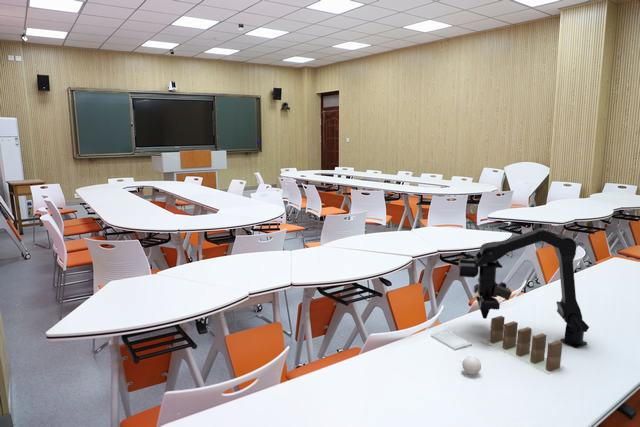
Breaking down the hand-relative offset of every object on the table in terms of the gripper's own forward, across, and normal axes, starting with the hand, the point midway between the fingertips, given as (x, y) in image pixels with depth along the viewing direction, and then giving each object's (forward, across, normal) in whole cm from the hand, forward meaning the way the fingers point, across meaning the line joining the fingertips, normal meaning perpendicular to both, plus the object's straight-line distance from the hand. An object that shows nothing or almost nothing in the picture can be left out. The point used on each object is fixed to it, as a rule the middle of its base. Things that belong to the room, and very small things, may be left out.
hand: (484, 318), depth 167 cm
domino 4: (+7, -17, -14) cm, 23 cm away
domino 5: (+7, -22, -18) cm, 29 cm away
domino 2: (+7, -9, -7) cm, 13 cm away
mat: (+7, -13, -11) cm, 18 cm away
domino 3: (+7, -13, -11) cm, 18 cm away
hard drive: (+8, -7, +12) cm, 16 cm away
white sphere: (+7, -28, +9) cm, 31 cm away
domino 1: (+7, -5, -4) cm, 9 cm away
